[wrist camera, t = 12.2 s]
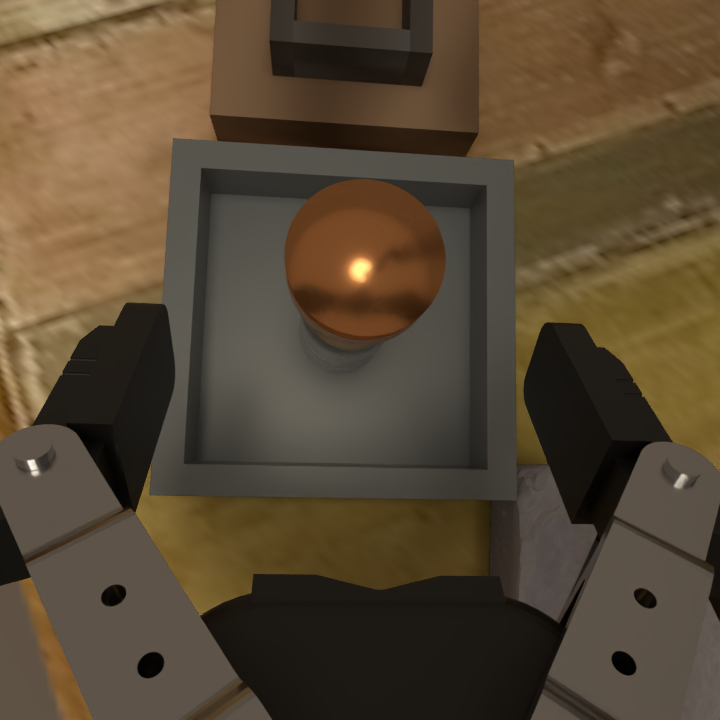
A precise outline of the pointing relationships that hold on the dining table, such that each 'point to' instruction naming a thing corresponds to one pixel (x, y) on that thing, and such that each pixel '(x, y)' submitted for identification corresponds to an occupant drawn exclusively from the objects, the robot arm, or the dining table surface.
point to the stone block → (574, 571)
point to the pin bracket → (347, 74)
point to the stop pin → (360, 269)
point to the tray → (292, 366)
